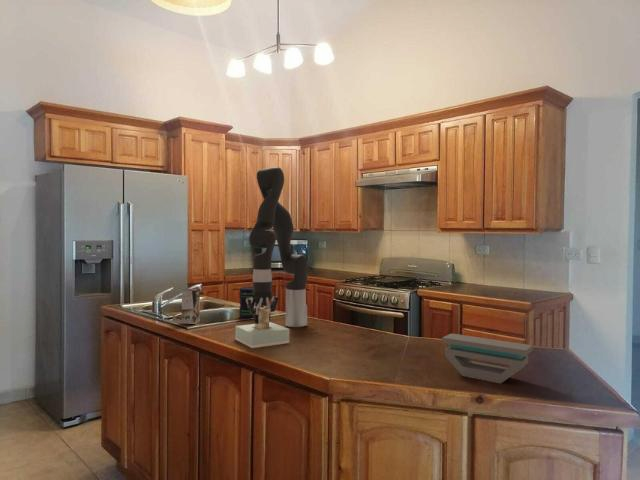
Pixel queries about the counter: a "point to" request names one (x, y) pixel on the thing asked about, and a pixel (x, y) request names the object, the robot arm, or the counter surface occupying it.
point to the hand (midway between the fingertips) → (261, 322)
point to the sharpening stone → (485, 356)
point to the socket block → (262, 335)
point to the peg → (263, 319)
